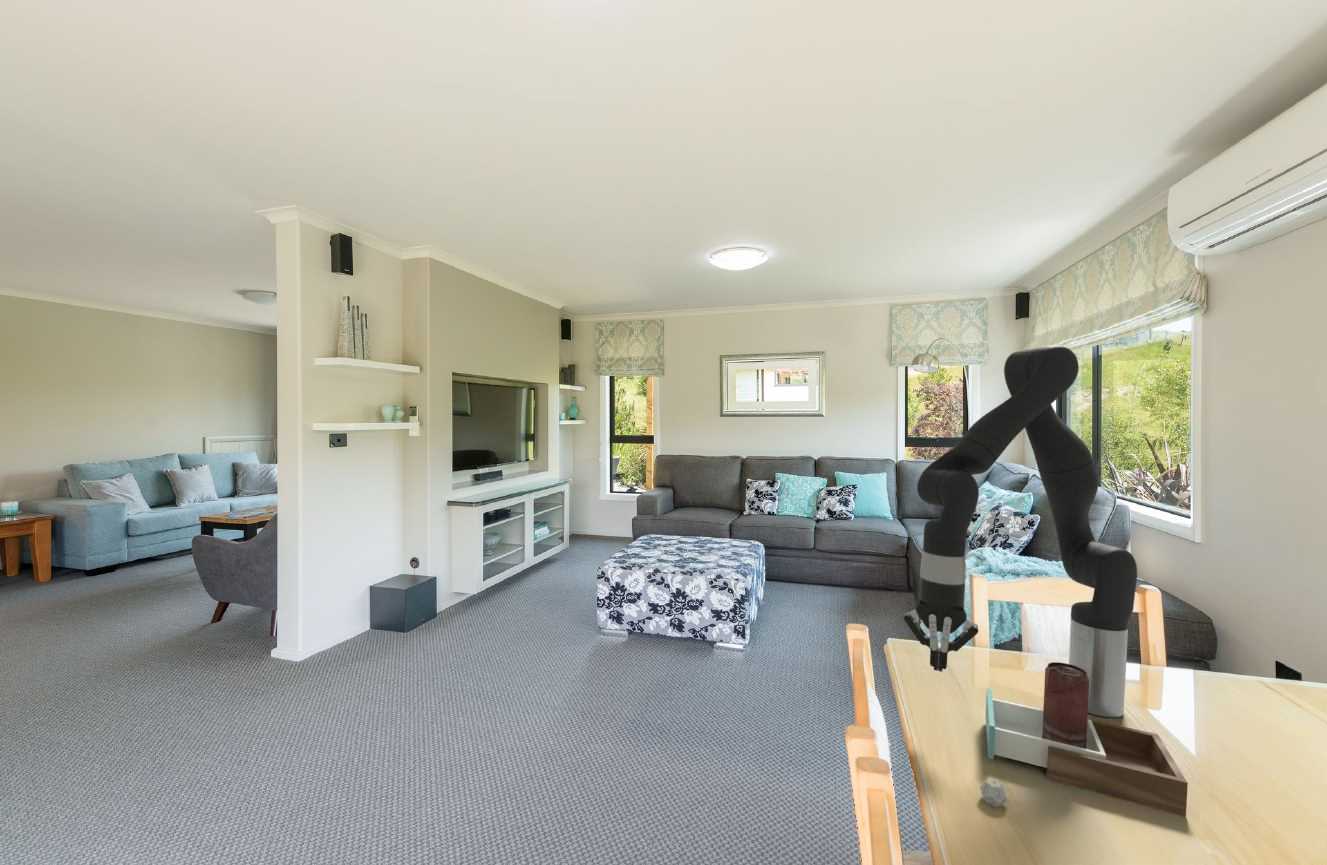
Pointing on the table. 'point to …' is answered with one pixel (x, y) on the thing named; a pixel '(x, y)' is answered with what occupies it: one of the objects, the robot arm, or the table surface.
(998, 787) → the game die
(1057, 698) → the can
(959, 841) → the table surface
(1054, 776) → the tray stand
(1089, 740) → the tray
